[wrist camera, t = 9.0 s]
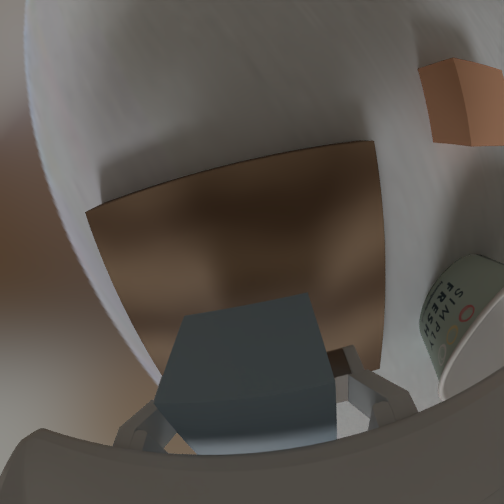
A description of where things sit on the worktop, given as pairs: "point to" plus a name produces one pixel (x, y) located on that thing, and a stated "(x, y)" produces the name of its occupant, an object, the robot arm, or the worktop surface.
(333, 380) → the slate block
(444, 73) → the terracotta block
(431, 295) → the food container
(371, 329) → the walnut board
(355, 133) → the worktop surface
